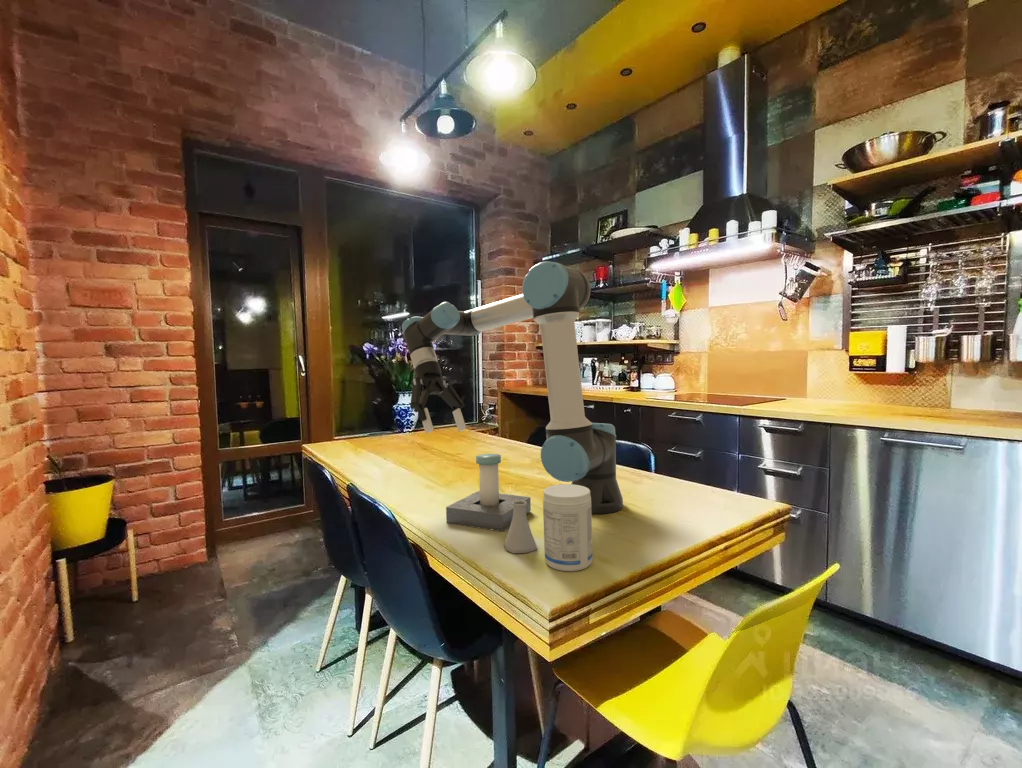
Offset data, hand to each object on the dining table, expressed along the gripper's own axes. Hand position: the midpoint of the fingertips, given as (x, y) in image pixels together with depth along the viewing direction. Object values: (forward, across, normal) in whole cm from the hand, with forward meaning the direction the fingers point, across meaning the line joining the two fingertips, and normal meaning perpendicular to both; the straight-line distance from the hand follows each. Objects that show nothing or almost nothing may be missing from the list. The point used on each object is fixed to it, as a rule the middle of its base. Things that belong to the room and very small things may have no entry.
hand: (446, 430), depth 137 cm
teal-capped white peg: (+27, +3, +7) cm, 28 cm away
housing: (+27, +3, +7) cm, 28 cm away
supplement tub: (+42, +16, +34) cm, 57 cm away
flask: (+37, +15, +23) cm, 46 cm away
